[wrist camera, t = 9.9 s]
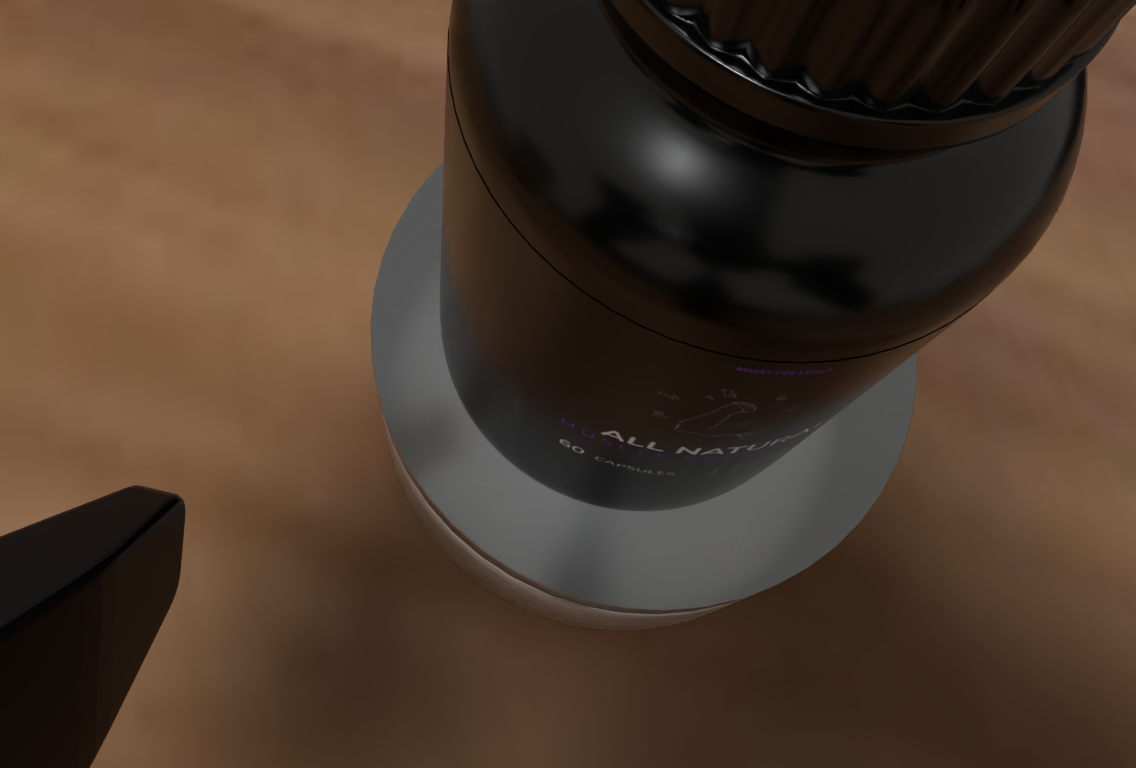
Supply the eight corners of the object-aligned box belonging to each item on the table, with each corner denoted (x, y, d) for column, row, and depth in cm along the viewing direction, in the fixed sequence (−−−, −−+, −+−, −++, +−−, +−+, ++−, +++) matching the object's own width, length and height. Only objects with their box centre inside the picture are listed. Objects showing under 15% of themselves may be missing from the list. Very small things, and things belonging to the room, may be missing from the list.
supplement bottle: (611, 604, 17) (945, 354, 6) (363, 300, 18) (224, -411, 7) (891, 364, 19) (1554, -177, 8) (650, 105, 20) (913, -698, 9)
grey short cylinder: (538, 728, 20) (559, 729, 16) (300, 312, 22) (270, 227, 18) (926, 477, 23) (1022, 427, 19) (679, 125, 25) (721, 17, 21)
